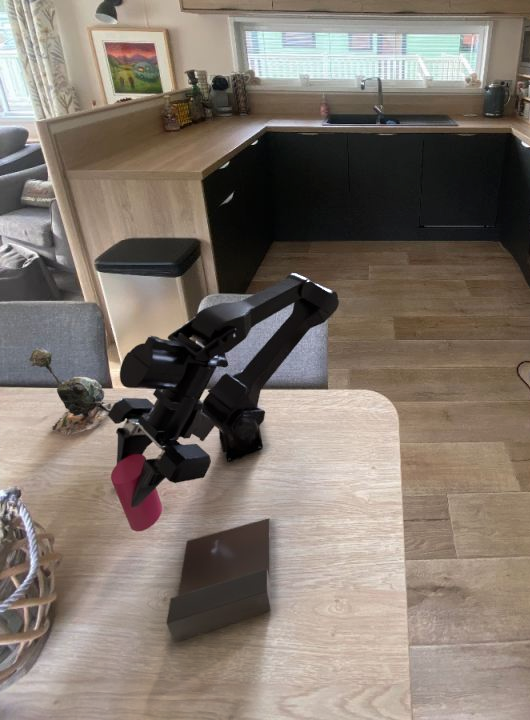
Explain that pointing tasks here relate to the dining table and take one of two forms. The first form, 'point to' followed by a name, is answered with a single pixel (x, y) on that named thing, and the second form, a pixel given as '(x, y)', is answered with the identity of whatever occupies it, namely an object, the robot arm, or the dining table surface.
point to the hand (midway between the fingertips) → (126, 496)
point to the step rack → (222, 580)
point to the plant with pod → (75, 399)
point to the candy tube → (125, 485)
